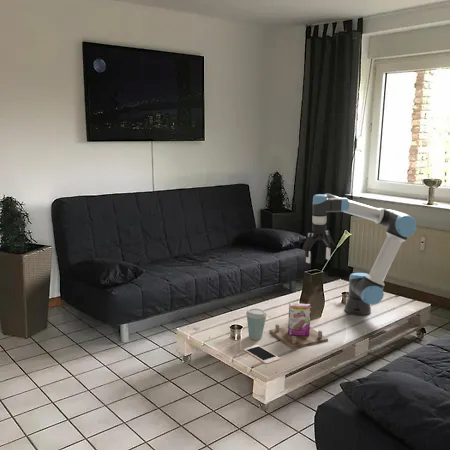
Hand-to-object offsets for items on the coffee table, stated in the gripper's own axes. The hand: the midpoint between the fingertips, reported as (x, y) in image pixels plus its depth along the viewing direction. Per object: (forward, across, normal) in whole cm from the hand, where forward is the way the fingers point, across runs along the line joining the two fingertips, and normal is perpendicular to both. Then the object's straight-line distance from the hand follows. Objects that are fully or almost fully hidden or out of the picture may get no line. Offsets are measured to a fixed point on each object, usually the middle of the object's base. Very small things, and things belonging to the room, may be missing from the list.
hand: (318, 261), depth 275 cm
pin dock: (+35, +21, +12) cm, 43 cm away
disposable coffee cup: (+35, +41, +3) cm, 54 cm away
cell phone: (+35, +49, +21) cm, 64 cm away
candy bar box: (+34, +20, +12) cm, 42 cm away
